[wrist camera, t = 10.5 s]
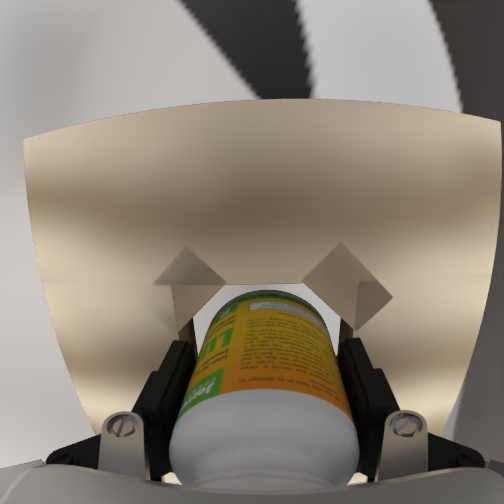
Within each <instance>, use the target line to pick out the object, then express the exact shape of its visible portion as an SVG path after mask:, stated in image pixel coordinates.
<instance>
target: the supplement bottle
mask: <svg viewBox="0 0 504 504" xmlns="http://www.w3.org/2000/svg"><path fill="white" fill-rule="evenodd" d="M169 457H170V463H171V466H172V469H173V471H174V473H175V475H176V477H177V479H178V480H179V481H180V483H181V484H182V485H186V486H195V487H205V488H217V489H233V490H300V489H317V488H329V487H339V486H346V485H347V484H348V483H349V481H350V480H351V478H352V477H353V475H354V473H355V471H356V468H357V465H358V461H359V443H358V437H357V432H356V427H355V422H354V419H353V416H352V412H351V409H350V405H349V401H348V398H347V395H346V391H345V388H344V384H343V381H342V377H341V374H340V370H339V367H338V363H337V360H336V356H335V353H334V350H333V346H332V342H331V338H330V335H329V332H328V330H327V327H326V324H325V322H324V320H323V318H322V317H321V315H320V314H319V312H318V311H317V310H316V309H315V308H314V307H313V306H312V305H311V304H309V303H308V302H307V301H305V300H303V299H301V298H299V297H298V296H296V295H293V294H290V293H287V292H283V291H277V290H259V291H253V292H248V293H246V294H243V295H240V296H238V297H236V298H234V299H232V300H231V301H229V302H228V303H226V304H225V305H224V306H223V307H222V308H221V309H220V310H219V311H218V312H217V314H216V315H215V317H214V318H213V320H212V321H211V324H210V326H209V328H208V331H207V333H206V336H205V340H204V342H203V345H202V348H201V350H200V353H199V356H198V359H197V362H196V365H195V368H194V371H193V373H192V376H191V379H190V382H189V385H188V388H187V391H186V394H185V397H184V400H183V403H182V406H181V409H180V412H179V415H178V417H177V420H176V423H175V426H174V429H173V433H172V437H171V441H170V446H169Z"/></svg>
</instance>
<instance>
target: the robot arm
mask: <svg viewBox="0 0 504 504" xmlns="http://www.w3.org/2000/svg"><path fill="white" fill-rule="evenodd" d="M195 365H196V358H195V351H194V346H193V344H189V342H188V341H185V340H173V342H172V343H171V345H170V347H169V349H168V351H167V353H166V355H165V357H164V359H163V361H162V363H161V365H160V367H159V369H158V371H152V372H151V373H150V375H149V377H148V379H147V381H146V383H145V385H144V387H143V389H142V391H141V393H140V395H139V397H138V399H137V401H136V403H135V405H134V406H133V408H132V410H131V412H129V411H122V412H117V413H114V414H112V415H110V416H109V417H107V418H106V420H105V421H104V422H103V425H102V432H101V434H98V435H96V436H93V437H91V438H88V439H85V440H83V441H80V442H77V443H75V444H72V445H69V446H66V447H63V448H60V449H58V450H56V451H53V452H52V453H51V454H50V455H49V456H48V458H47V460H46V461H45V462H43V461H42V460H41V459H40V460H36V461H32V462H28V463H24V464H19V465H15V466H10V467H5V468H2V469H0V504H504V463H502V462H498V461H494V460H491V459H490V461H489V462H485V461H484V459H483V457H482V455H481V454H480V453H479V452H478V451H476V450H474V449H471V448H469V447H466V446H463V445H460V444H458V443H455V442H452V441H450V440H447V439H445V438H442V437H439V436H437V435H434V434H432V433H429V432H428V427H427V422H426V420H425V418H424V417H423V416H422V415H420V414H419V413H417V412H414V411H410V410H400V407H399V405H398V403H397V401H396V398H395V396H394V394H393V392H392V389H391V387H390V385H389V383H388V381H387V378H386V376H385V374H384V372H383V370H382V369H381V368H375V369H374V368H373V366H372V363H371V361H370V359H369V357H368V354H367V352H366V350H365V347H364V345H363V343H362V341H361V339H360V337H356V338H346V339H345V341H344V342H340V346H339V355H338V367H339V370H340V374H341V377H342V381H343V384H344V388H345V391H346V395H347V398H348V401H349V405H350V409H351V412H352V416H353V419H354V422H355V427H356V432H357V437H358V443H359V461H358V465H357V468H356V471H355V473H361V474H363V475H365V476H367V477H366V481H365V483H364V484H356V485H348V486H339V487H329V488H317V489H300V490H233V489H217V488H205V487H195V486H186V485H177V484H170V483H165V478H164V475H166V474H168V473H170V472H172V473H174V471H173V469H172V466H171V463H170V457H169V446H170V441H171V437H172V433H173V429H174V426H175V423H176V420H177V417H178V415H179V412H180V409H181V406H182V403H183V400H184V397H185V394H186V391H187V388H188V385H189V382H190V379H191V376H192V373H193V371H194V368H195Z"/></svg>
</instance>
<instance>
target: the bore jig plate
mask: <svg viewBox="0 0 504 504" xmlns="http://www.w3.org/2000/svg"><path fill="white" fill-rule="evenodd" d="M23 141H24V164H25V179H26V190H27V199H28V208H29V216H30V223H31V229H32V236H33V242H34V247H35V252H36V258H37V263H38V268H39V272H40V277H41V281H42V285H43V290H44V294H45V298H46V302H47V305H48V309H49V313H50V316H51V320H52V323H53V327H54V330H55V333H56V336H57V339H58V343H59V346H60V349H61V351H62V355H63V358H64V360H65V363H66V366H67V369H68V371H69V374H70V377H71V379H72V382H73V385H74V387H75V389H76V392H77V394H78V397H79V399H80V402H81V404H82V406H83V409H84V411H85V413H86V415H87V418H88V420H89V422H90V424H91V426H92V428H93V430H94V432H95V435H98V434H101V432H102V425H103V422H104V421H105V420H106V418H107V417H109V416H110V415H112V414H114V413H117V412H122V411H129V412H131V410H132V408H133V406H134V405H135V403H136V401H137V399H138V397H139V395H140V393H141V391H142V389H143V387H144V385H145V383H146V381H147V379H148V377H149V375H150V373H151V372H152V371H158V369H159V367H160V365H161V363H162V361H163V359H164V357H165V355H166V353H167V351H168V349H169V347H170V345H171V343H172V342H173V340H185V341H188V342H189V344H193V346H194V351H195V358H196V362H197V359H198V352H197V345H196V338H195V331H194V323H193V316H194V315H195V314H196V313H197V312H198V311H199V310H200V309H201V308H202V307H203V306H204V305H205V304H206V303H207V302H208V301H209V300H210V299H211V298H212V297H213V296H214V295H215V294H216V293H217V292H218V291H219V290H220V289H221V288H222V287H223V286H224V285H249V284H250V285H251V284H291V283H292V284H294V283H304V284H306V285H307V286H308V287H309V288H310V289H311V290H312V291H313V292H314V293H315V294H316V295H317V296H318V297H319V298H321V299H322V300H323V301H324V302H325V303H326V304H327V305H328V306H330V308H331V309H332V310H334V311H335V312H336V313H337V314H338V315H339V316H340V317H341V322H340V334H339V344H338V354H337V356H336V360H337V363H338V355H339V346H340V342H344V341H345V339H346V338H356V337H360V339H361V341H362V343H363V345H364V347H365V350H366V352H367V354H368V357H369V359H370V361H371V363H372V366H373V368H374V369H375V368H381V369H382V370H383V372H384V374H385V376H386V378H387V381H388V383H389V385H390V387H391V389H392V392H393V394H394V396H395V398H396V401H397V403H398V405H399V407H400V410H410V411H414V412H417V413H419V414H420V415H422V416H423V417H424V418H425V420H426V422H427V427H428V432H429V433H432V434H434V435H437V436H439V437H440V436H441V434H442V432H443V429H444V427H445V425H446V423H447V420H448V418H449V416H450V414H451V411H452V409H453V406H454V404H455V401H456V399H457V396H458V394H459V391H460V388H461V386H462V383H463V380H464V377H465V375H466V372H467V369H468V366H469V363H470V360H471V356H472V353H473V350H474V347H475V343H476V340H477V336H478V333H479V329H480V325H481V321H482V317H483V313H484V309H485V305H486V300H487V295H488V291H489V286H490V280H491V275H492V269H493V263H494V257H495V250H496V242H497V234H498V225H499V214H500V200H501V175H502V149H501V125H500V122H499V121H495V120H491V119H486V118H482V117H477V116H472V115H467V114H462V113H456V112H451V111H445V110H439V109H431V108H425V107H417V106H409V105H400V104H391V103H381V102H368V101H354V100H331V99H263V100H242V101H227V102H215V103H203V104H194V105H185V106H177V107H169V108H162V109H155V110H148V111H142V112H136V113H130V114H125V115H119V116H114V117H109V118H104V119H100V120H95V121H90V122H86V123H81V124H77V125H73V126H69V127H65V128H61V129H57V130H54V131H50V132H46V133H43V134H40V135H36V136H33V137H30V138H26V139H24V140H23ZM366 477H367V476H365V475H363V474H361V473H354V475H353V477H352V478H351V480H350V481H349V483H348V484H350V483H357V482H364V481H366ZM164 478H165V481H168V482H174V483H180V481H179V480H178V479H177V477H176V475H175V473H172V472H170V473H168V474H166V475H164Z"/></svg>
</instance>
